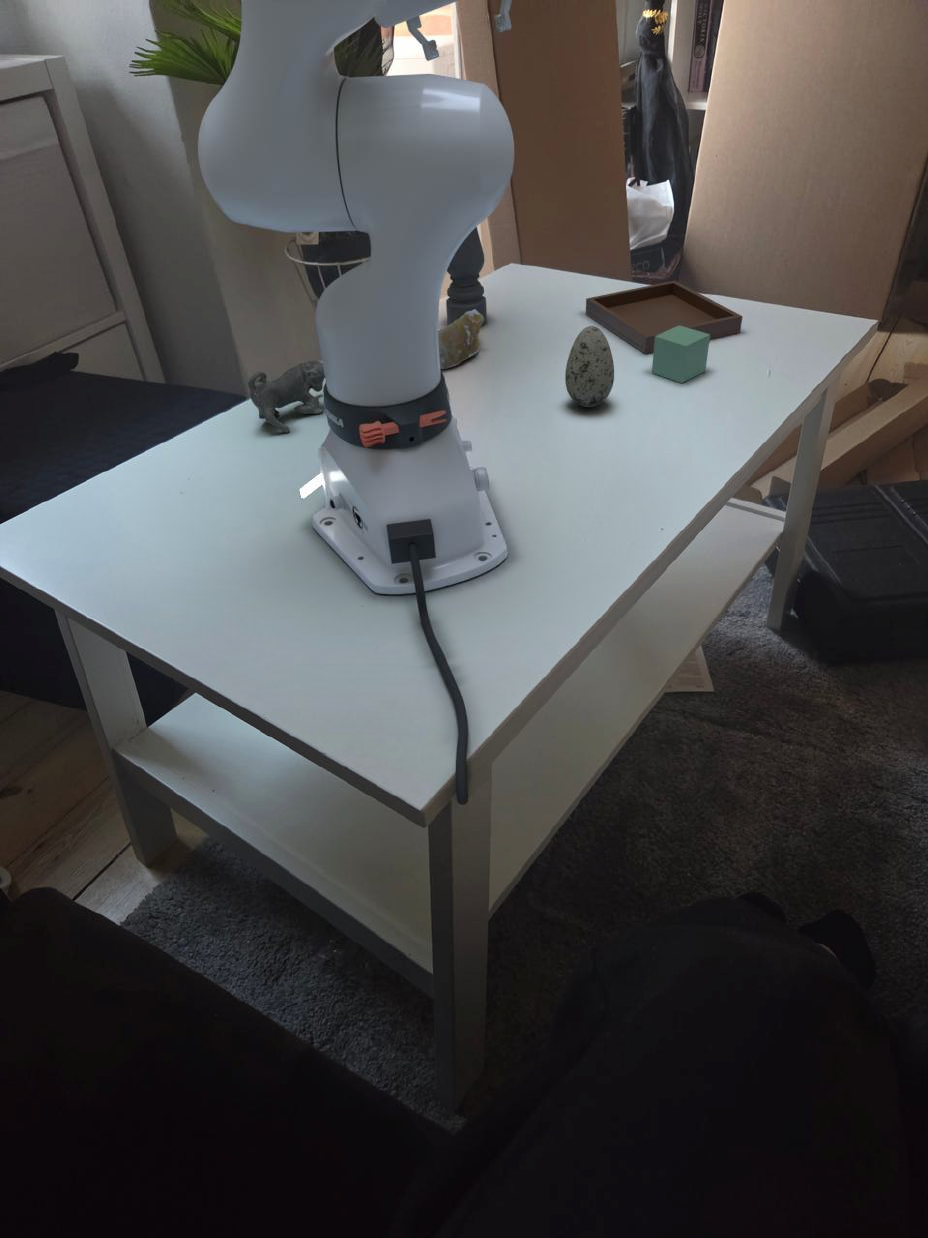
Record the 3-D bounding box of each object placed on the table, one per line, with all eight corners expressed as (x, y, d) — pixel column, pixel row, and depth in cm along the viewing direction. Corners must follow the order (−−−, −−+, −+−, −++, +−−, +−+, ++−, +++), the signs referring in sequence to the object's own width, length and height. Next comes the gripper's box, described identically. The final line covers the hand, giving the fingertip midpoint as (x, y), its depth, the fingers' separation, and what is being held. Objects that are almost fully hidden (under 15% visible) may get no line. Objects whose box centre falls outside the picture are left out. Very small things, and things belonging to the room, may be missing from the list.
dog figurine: (275, 439, 104) (262, 382, 99) (247, 426, 107) (233, 370, 102) (347, 403, 110) (339, 348, 105) (319, 392, 113) (309, 338, 108)
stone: (399, 325, 112) (467, 285, 121) (396, 366, 117) (461, 324, 126) (440, 350, 110) (506, 307, 119) (435, 390, 115) (499, 346, 124)
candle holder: (494, 318, 130) (488, 135, 114) (473, 332, 127) (464, 144, 111) (461, 312, 133) (450, 132, 117) (439, 325, 129) (425, 142, 113)
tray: (740, 332, 121) (742, 315, 119) (645, 354, 117) (646, 337, 115) (673, 295, 133) (674, 280, 132) (585, 313, 130) (586, 298, 128)
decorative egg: (602, 391, 109) (606, 314, 102) (619, 411, 104) (624, 331, 98) (558, 398, 108) (559, 321, 101) (573, 418, 103) (575, 339, 97)
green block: (705, 371, 111) (710, 334, 108) (682, 383, 109) (686, 346, 106) (675, 361, 114) (678, 324, 111) (651, 372, 112) (654, 336, 109)
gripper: (351, -66, 92) (393, 77, 101) (525, -134, 92) (553, 15, 101) (345, -63, 97) (386, 73, 106) (510, -127, 97) (537, 14, 106)
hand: (468, 44), depth 103 cm, fingers open, 8 cm apart
